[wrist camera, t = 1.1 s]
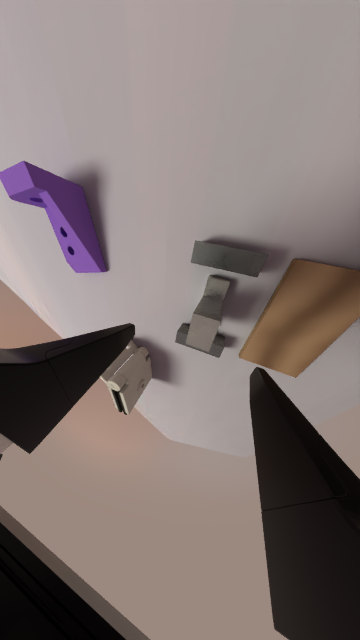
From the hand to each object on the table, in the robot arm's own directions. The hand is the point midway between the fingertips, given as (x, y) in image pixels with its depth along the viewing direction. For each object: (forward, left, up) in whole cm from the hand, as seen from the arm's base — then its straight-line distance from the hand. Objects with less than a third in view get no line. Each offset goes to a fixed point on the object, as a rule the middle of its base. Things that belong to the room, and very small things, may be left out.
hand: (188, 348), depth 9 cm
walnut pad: (-13, +1, -13) cm, 18 cm away
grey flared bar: (-1, +1, -13) cm, 13 cm away
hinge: (+12, +21, -14) cm, 28 cm away
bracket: (+25, -4, -14) cm, 29 cm away
